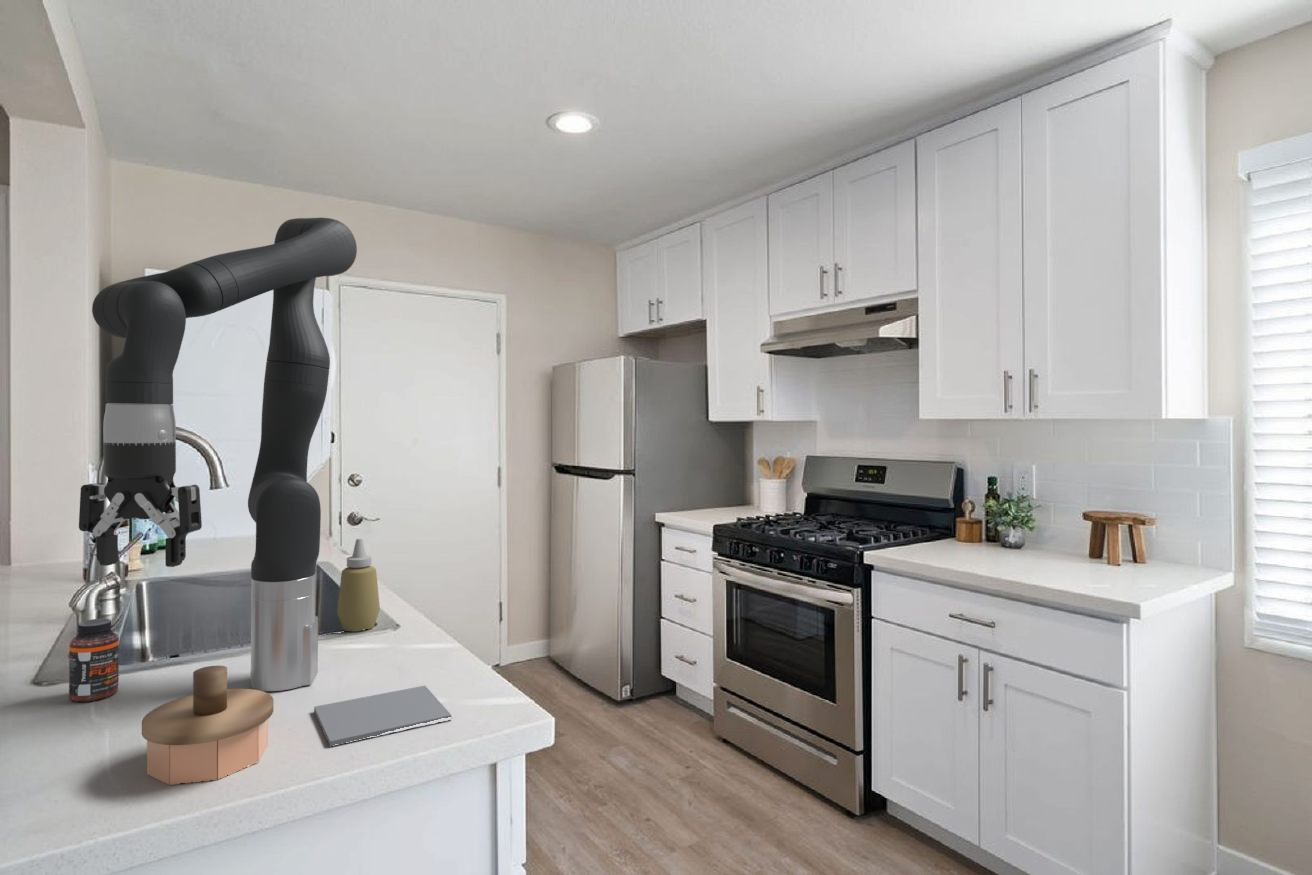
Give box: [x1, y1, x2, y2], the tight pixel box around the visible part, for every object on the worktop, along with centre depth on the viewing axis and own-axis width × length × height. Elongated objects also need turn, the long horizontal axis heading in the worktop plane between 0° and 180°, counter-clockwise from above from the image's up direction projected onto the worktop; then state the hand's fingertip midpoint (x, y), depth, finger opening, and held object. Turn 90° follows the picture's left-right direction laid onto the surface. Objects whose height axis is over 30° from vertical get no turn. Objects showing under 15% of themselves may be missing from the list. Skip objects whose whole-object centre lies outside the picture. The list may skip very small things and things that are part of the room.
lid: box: [141, 665, 274, 745], centre depth 90 cm, size 14×14×6 cm
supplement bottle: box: [68, 618, 120, 703], centre depth 109 cm, size 6×6×11 cm
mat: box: [313, 685, 452, 747], centre depth 104 cm, size 16×13×1 cm
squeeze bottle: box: [336, 538, 381, 632], centre depth 145 cm, size 8×8×18 cm
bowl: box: [146, 718, 269, 786], centre depth 90 cm, size 12×12×5 cm
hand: (141, 565), depth 92 cm, fingers open, 8 cm apart
